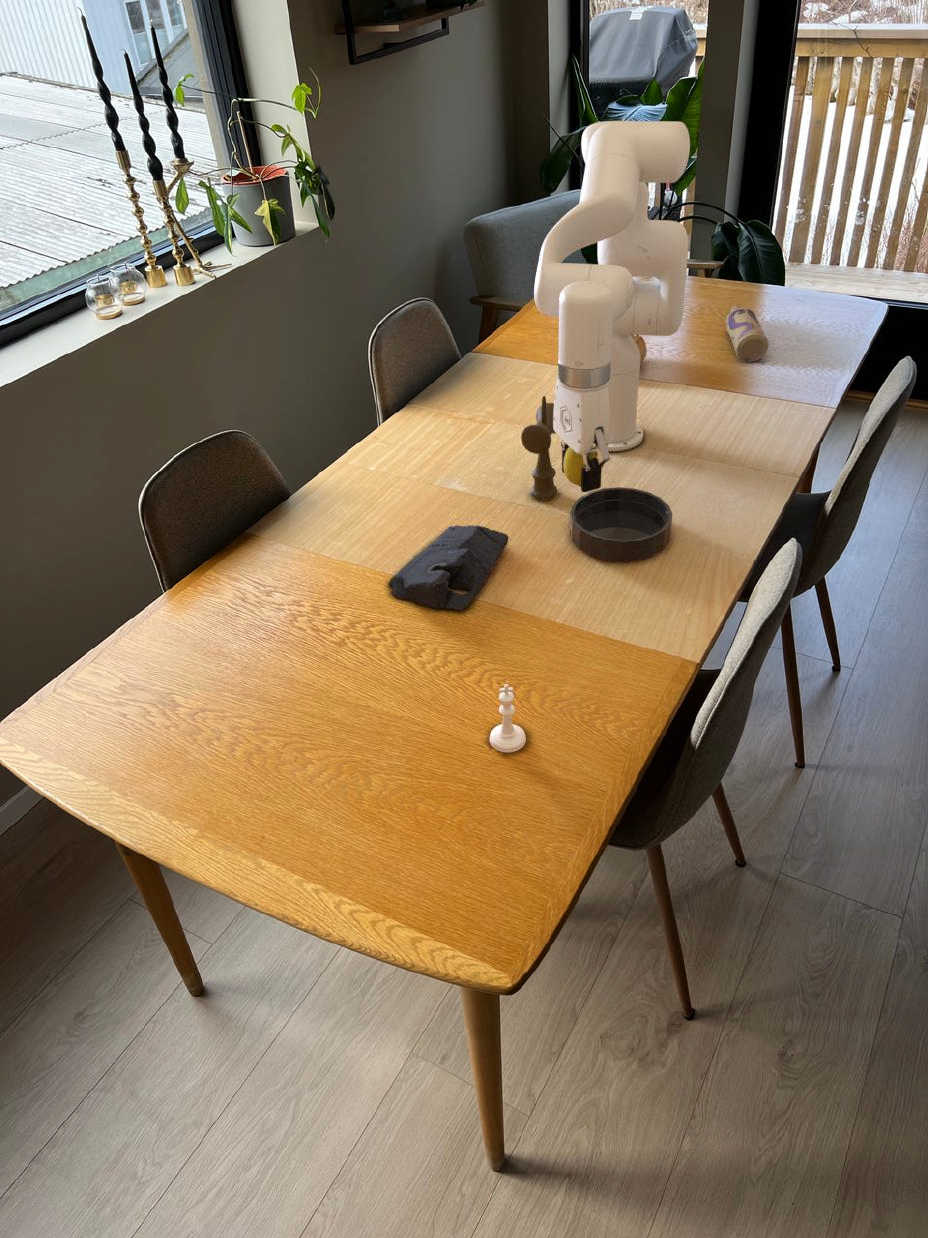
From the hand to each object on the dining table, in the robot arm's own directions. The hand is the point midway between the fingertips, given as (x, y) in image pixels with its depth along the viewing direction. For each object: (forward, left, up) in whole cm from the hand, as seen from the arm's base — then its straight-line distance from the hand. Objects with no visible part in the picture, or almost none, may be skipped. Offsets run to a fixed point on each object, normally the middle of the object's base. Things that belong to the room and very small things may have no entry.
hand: (581, 479), depth 151 cm
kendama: (-24, +5, -18) cm, 30 cm away
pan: (-6, +11, -17) cm, 21 cm away
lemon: (0, 0, -2) cm, 2 cm away
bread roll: (-65, +45, -18) cm, 81 cm away
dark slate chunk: (-9, -19, -18) cm, 27 cm away
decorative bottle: (-65, +78, -18) cm, 103 cm away
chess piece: (+31, -27, -18) cm, 45 cm away
